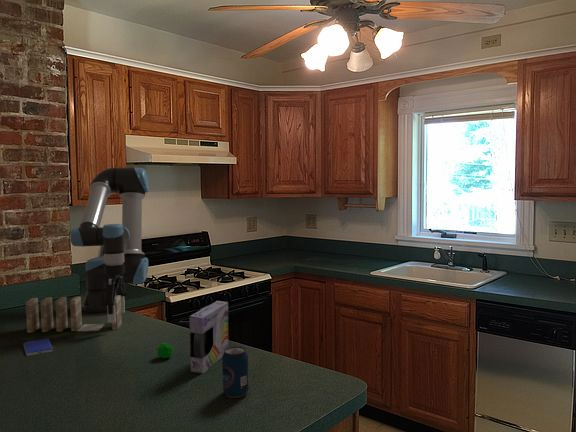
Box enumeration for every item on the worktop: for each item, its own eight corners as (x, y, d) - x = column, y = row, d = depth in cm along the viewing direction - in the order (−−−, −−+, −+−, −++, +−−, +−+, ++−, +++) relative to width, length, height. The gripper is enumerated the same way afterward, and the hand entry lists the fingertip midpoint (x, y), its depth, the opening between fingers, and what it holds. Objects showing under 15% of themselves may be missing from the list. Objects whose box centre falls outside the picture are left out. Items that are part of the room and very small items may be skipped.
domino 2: (53, 327, 198) (52, 297, 197) (47, 331, 192) (45, 301, 191) (48, 327, 198) (46, 297, 197) (42, 331, 192) (40, 301, 191)
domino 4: (82, 326, 199) (80, 296, 198) (76, 330, 193) (75, 300, 192) (76, 326, 199) (75, 296, 198) (71, 330, 193) (69, 300, 192)
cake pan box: (202, 375, 148) (200, 317, 147) (187, 373, 150) (185, 315, 148) (230, 353, 166) (229, 301, 165) (216, 351, 168) (215, 300, 166)
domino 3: (67, 326, 199) (66, 296, 198) (62, 331, 193) (60, 300, 192) (62, 326, 199) (61, 297, 198) (56, 331, 193) (55, 300, 192)
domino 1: (39, 327, 198) (37, 297, 197) (32, 332, 192) (30, 301, 191) (34, 327, 198) (32, 297, 197) (27, 332, 192) (25, 301, 191)
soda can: (217, 393, 136) (216, 350, 135) (237, 385, 140) (237, 343, 140) (233, 401, 131) (232, 356, 130) (254, 392, 136) (253, 349, 135)
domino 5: (121, 324, 200) (120, 295, 199) (117, 329, 194) (116, 298, 193) (116, 324, 200) (115, 295, 199) (112, 329, 194) (111, 299, 193)
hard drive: (23, 342, 177) (26, 353, 166) (48, 338, 181) (53, 348, 171) (23, 346, 177) (26, 357, 167) (48, 342, 181) (53, 352, 171)
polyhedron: (175, 355, 165) (175, 341, 164) (168, 361, 160) (167, 346, 159) (162, 354, 166) (161, 340, 166) (154, 359, 161) (153, 345, 161)
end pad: (104, 324, 201) (104, 323, 201) (98, 330, 193) (98, 329, 193) (84, 325, 200) (84, 324, 200) (77, 331, 192) (77, 330, 192)
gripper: (113, 258, 207) (115, 309, 209) (94, 269, 182) (96, 326, 184) (132, 258, 208) (134, 308, 209) (115, 269, 183) (117, 326, 184)
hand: (116, 317), depth 197 cm, fingers open, 13 cm apart
